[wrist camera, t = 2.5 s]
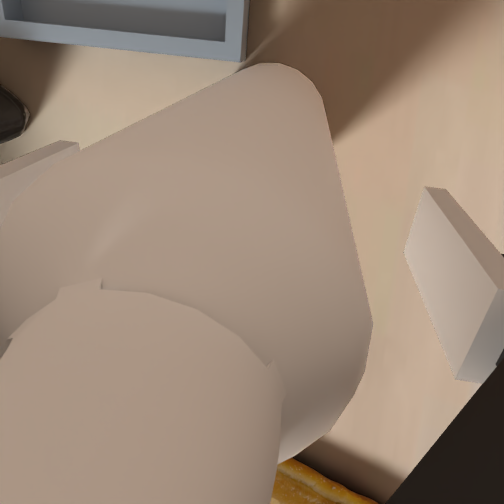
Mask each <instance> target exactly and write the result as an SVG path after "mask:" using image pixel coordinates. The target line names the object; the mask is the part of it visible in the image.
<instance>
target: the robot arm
mask: <svg viewBox="0 0 504 504" xmlns="http://www.w3.org/2000/svg"><path fill="white" fill-rule="evenodd" d="M78 151H80V150H79V143H77V142H69V141H61V140H60V141H57V142H55V143H52V144H50V145H48V146H45V147H43V148H40V149H38V150H36V151H33V152H31V153H28V154H26V155H24V156H21V157H19V158H17V159H14V160H12V161H9V162H7V163H5V164H2V165H0V229H1V227H2V225H3V222H4V220H5V218H6V215H7V213H8V211H9V208H10V206H11V204H12V201H13V200H14V199H16V198H17V197H18V196H19V195H20V194H21V193H22V192H23V191H24V190H25V189H27V188H28V187H29V186H30V185H31V184H32V183H33V182H34V181H35V180H37V179H38V178H39V177H40V176H41V175H42V174H43V173H44V172H45V171H47V170H48V169H49V168H50V167H51V166H52V165H53V164H54V163H56V162H58V161H60V160H62V159H64V158H66V157H68V156H70V155H72V154H74V153H76V152H78ZM403 253H404V255H405V258H406V260H407V263H408V265H409V267H410V270H411V272H412V275H413V277H414V280H415V282H416V285H417V287H418V290H419V292H420V294H421V297H422V299H423V302H424V304H425V307H426V309H427V312H428V314H429V317H430V319H431V321H432V324H433V326H434V329H435V331H436V334H437V336H438V339H439V341H440V344H441V346H442V348H443V351H444V353H445V356H446V358H447V361H448V363H449V366H450V368H451V371H452V373H453V375H454V378H455V379H456V380H463V381H469V382H475V383H481V384H482V385H481V387H480V388H479V389H478V390H477V391H476V393H475V394H474V395H473V396H472V398H471V399H470V400H469V401H468V403H467V404H466V405H465V406H464V408H463V409H462V410H461V411H460V412H459V414H458V415H457V416H456V417H455V419H454V420H453V421H452V422H451V424H450V425H449V426H448V427H447V429H446V430H445V431H444V432H443V433H442V435H441V436H440V437H439V438H438V440H437V441H436V442H435V443H434V445H433V446H432V447H431V448H430V450H429V451H428V452H427V453H426V454H425V456H424V457H423V458H422V459H421V461H420V462H419V463H418V464H417V466H416V467H415V468H414V469H413V471H412V472H411V473H410V474H409V475H408V477H407V478H406V479H405V480H404V482H403V483H402V484H401V485H400V487H399V488H398V489H397V490H396V492H395V493H394V494H393V495H392V496H391V498H390V499H389V500H388V501H387V502H386V503H385V504H504V254H500V252H499V251H498V250H497V249H496V248H495V247H494V245H493V244H492V243H491V242H490V241H489V239H488V238H487V237H486V236H485V235H484V234H483V232H482V231H481V230H480V229H479V228H478V226H477V225H476V224H475V223H474V222H473V221H472V219H471V218H470V217H469V216H468V215H467V213H466V212H465V211H464V210H463V209H462V208H461V206H460V205H459V204H458V203H457V202H456V200H455V199H454V198H453V197H452V196H451V195H450V193H449V192H448V191H447V190H446V189H440V188H432V187H425V186H424V189H423V192H422V195H421V198H420V202H419V205H418V208H417V211H416V214H415V217H414V221H413V224H412V227H411V230H410V233H409V236H408V240H407V243H406V246H405V249H404V252H403ZM496 366H497V367H496Z"/></svg>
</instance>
